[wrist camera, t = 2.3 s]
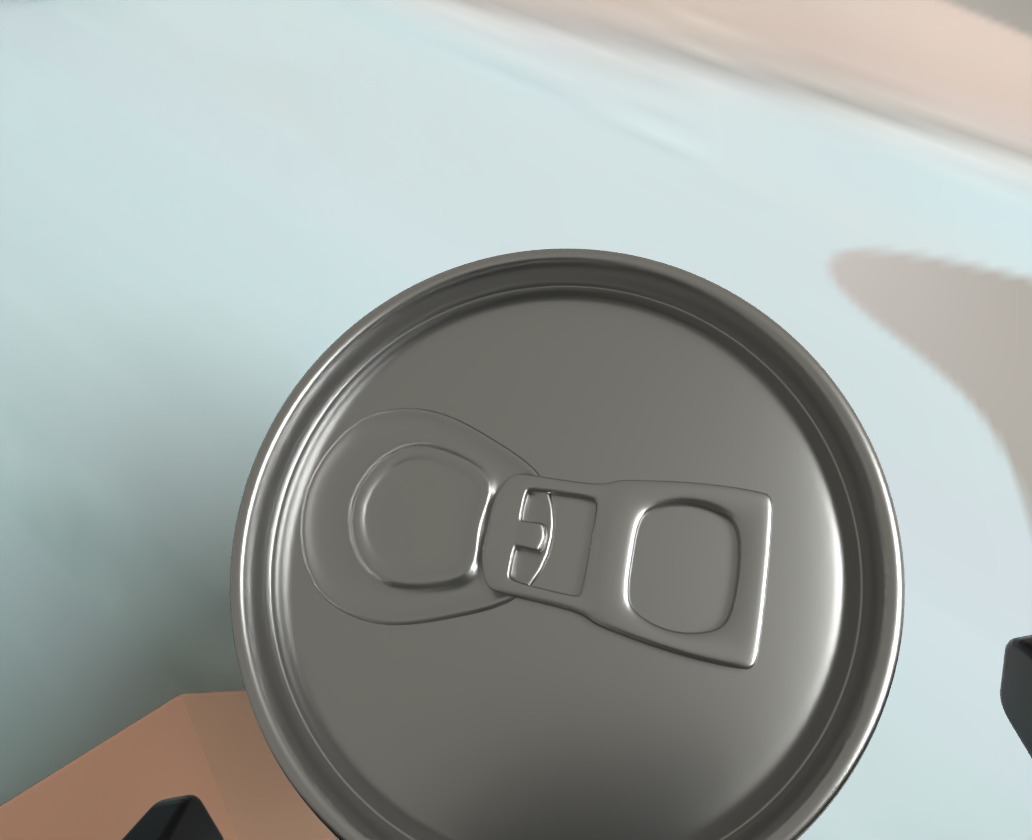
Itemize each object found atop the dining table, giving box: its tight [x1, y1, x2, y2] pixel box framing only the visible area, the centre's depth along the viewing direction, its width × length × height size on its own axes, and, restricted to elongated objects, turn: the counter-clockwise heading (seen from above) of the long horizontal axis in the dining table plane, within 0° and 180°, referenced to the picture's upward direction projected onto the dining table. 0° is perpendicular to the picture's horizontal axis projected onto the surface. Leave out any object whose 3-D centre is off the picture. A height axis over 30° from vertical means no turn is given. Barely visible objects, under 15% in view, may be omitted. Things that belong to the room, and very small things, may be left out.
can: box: [230, 249, 905, 840], centre depth 12 cm, size 6×6×12 cm
